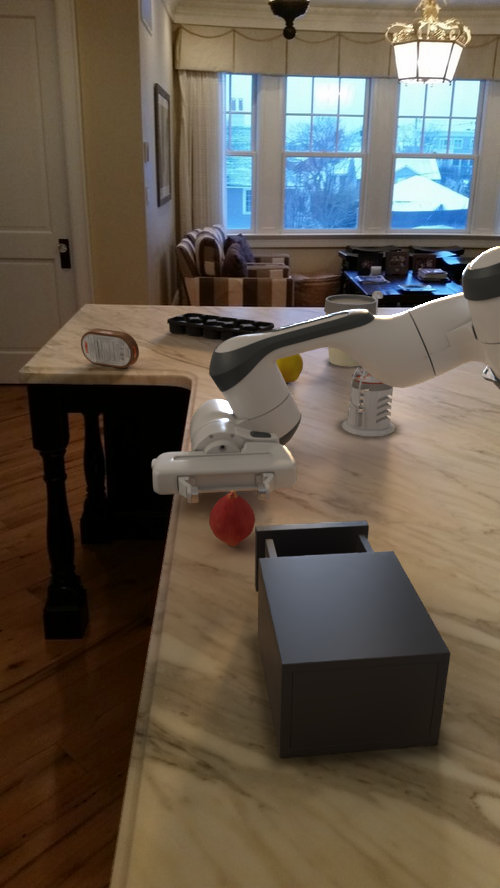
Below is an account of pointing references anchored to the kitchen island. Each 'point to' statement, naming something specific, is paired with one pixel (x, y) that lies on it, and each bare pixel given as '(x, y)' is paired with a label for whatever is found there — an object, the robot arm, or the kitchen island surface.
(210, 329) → the egg carton
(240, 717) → the kitchen island surface
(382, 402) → the french press
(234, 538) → the onion
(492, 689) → the kitchen island surface
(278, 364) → the apple
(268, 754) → the kitchen island surface
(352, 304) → the reusable coffee cup
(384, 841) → the kitchen island surface
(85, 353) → the tin
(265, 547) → the dark grey open drawer
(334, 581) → the dark drawer box
